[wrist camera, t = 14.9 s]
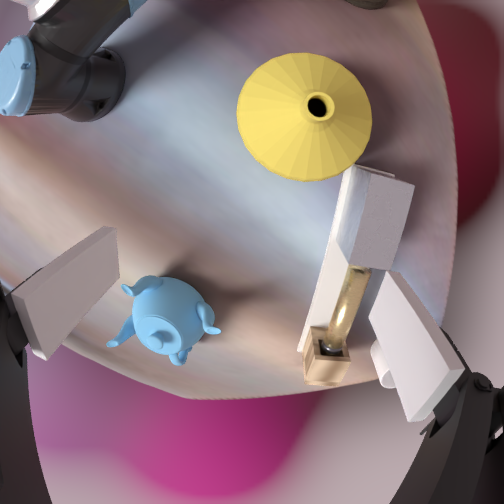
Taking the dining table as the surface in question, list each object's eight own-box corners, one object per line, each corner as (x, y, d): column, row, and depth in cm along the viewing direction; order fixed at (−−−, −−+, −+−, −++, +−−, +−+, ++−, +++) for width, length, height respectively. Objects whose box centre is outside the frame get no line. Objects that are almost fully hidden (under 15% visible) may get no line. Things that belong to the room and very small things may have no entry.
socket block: (301, 348, 58) (304, 384, 49) (310, 323, 55) (315, 359, 46) (331, 351, 58) (338, 386, 49) (341, 327, 55) (351, 361, 46)
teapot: (146, 252, 52) (116, 282, 41) (231, 293, 54) (221, 333, 43) (129, 312, 59) (105, 346, 47) (202, 347, 61) (189, 387, 49)
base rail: (297, 349, 58) (297, 351, 58) (345, 161, 42) (346, 162, 42) (335, 352, 58) (335, 355, 58) (392, 174, 42) (394, 174, 41)
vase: (352, 177, 43) (399, 205, 26) (242, 172, 45) (221, 196, 27) (355, 73, 36) (403, 40, 19) (243, 65, 37) (223, 22, 20)
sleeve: (334, 238, 48) (348, 264, 38) (350, 164, 42) (371, 173, 33) (369, 244, 48) (389, 270, 38) (387, 174, 42) (415, 185, 33)
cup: (365, 342, 57) (376, 374, 48) (411, 317, 53) (428, 347, 44) (375, 362, 59) (385, 393, 50) (417, 339, 56) (433, 368, 47)
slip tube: (345, 261, 44) (351, 273, 40) (367, 265, 44) (374, 276, 40) (315, 351, 52) (317, 365, 48) (334, 352, 52) (337, 367, 48)
